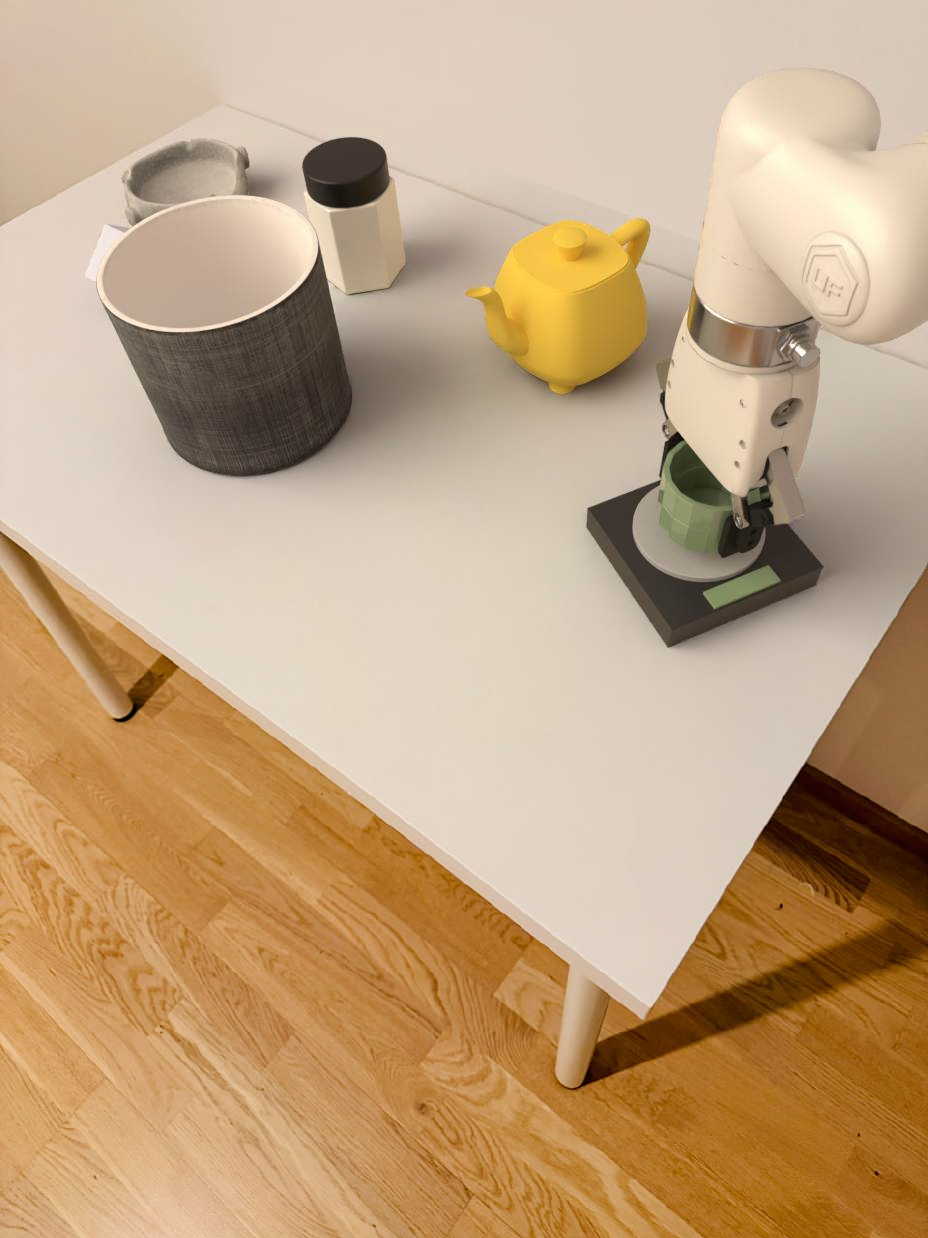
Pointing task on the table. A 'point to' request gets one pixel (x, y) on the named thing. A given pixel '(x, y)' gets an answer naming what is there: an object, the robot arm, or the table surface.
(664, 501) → the green cup
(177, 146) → the dish
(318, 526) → the table surface
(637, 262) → the teapot
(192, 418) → the planter
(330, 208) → the jar
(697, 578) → the scale
